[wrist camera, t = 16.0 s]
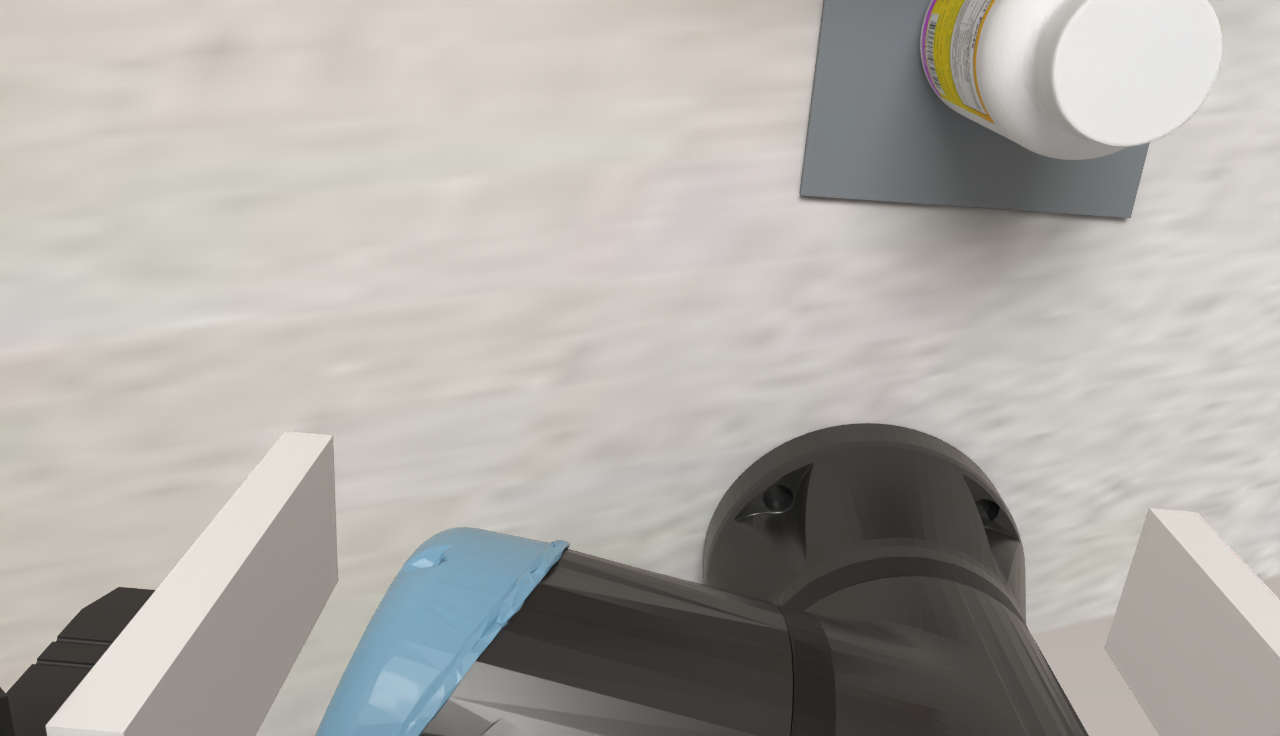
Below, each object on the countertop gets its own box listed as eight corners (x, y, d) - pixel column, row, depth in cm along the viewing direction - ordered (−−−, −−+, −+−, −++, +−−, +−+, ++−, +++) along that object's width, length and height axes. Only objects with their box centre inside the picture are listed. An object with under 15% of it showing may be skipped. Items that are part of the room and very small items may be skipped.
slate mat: (1126, 215, 43) (1130, 217, 42) (799, 193, 43) (800, 195, 42) (1218, -151, 38) (1223, -152, 37) (845, -176, 38) (847, -178, 37)
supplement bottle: (1121, 16, 39) (1315, 39, 28) (1002, 152, 42) (1135, 228, 30) (996, -95, 38) (1144, -120, 26) (879, 52, 40) (967, 90, 28)
